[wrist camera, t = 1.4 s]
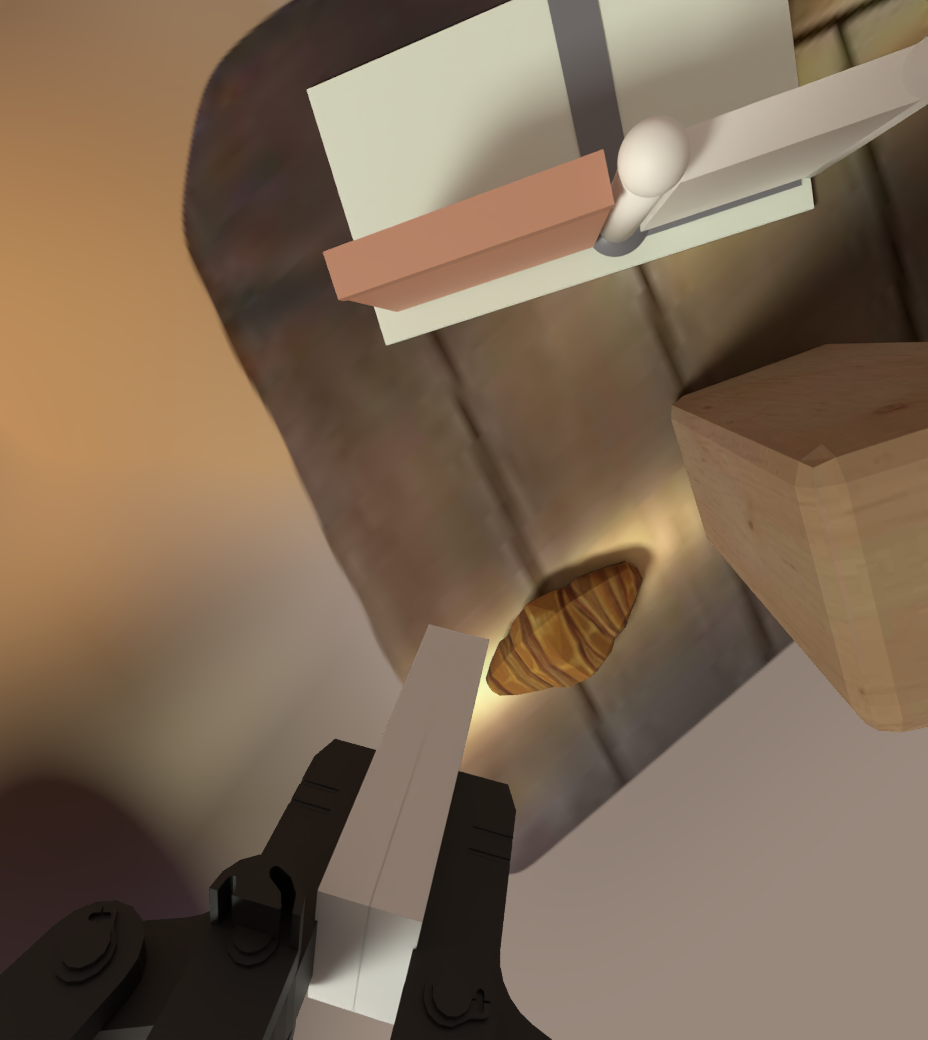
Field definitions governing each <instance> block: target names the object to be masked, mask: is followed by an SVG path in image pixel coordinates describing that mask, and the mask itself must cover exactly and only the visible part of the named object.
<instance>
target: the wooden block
mask: <svg viewBox="0 0 928 1040" xmlns="http://www.w3.org/2000/svg"><path fill="white" fill-rule="evenodd" d="M671 421H672V424H673V427H674V431H675V434H676V437H677V441H678V444H679V447H680V450H681V454H682V457H683V460H684V464H685V467H686V470H687V474H688V477H689V480H690V484H691V487H692V490H693V493H694V497H695V500H696V503H697V507H698V510H699V513H700V517H701V520H702V523H703V526H704V530H705V533H706V536H707V538H708V540H709V541H710V542H711V543H712V544H713V546H714V547H715V548H716V549H717V550H718V551H719V553H720V554H721V555H722V556H723V557H724V558H725V560H726V561H727V562H728V563H729V564H730V565H731V567H732V568H733V569H734V570H735V571H736V573H737V574H738V575H739V576H740V577H741V578H742V580H743V581H744V582H745V583H746V584H747V585H748V587H749V588H750V589H751V590H752V591H753V593H754V594H755V595H756V596H757V597H758V598H759V600H760V601H761V602H762V603H763V604H764V605H765V607H766V608H767V609H768V610H769V611H770V613H771V614H772V615H773V616H774V617H775V618H776V620H777V621H778V622H779V623H780V624H781V625H782V627H783V628H784V629H785V630H786V631H787V632H788V634H789V635H790V636H791V637H792V638H793V640H794V641H795V642H796V643H797V644H798V645H799V647H800V648H801V649H802V650H803V651H804V652H805V654H806V655H807V656H808V657H809V658H810V659H811V660H812V662H813V663H814V664H815V665H816V667H817V668H818V669H819V670H820V671H821V672H822V674H823V675H824V676H825V677H826V678H827V679H828V681H829V682H830V683H831V684H832V685H833V687H834V688H835V689H836V690H837V691H838V692H839V693H840V695H841V696H842V697H843V698H844V699H845V701H846V702H847V703H848V704H849V705H850V707H851V708H852V709H853V710H854V711H855V712H856V713H857V714H858V715H859V717H860V718H861V719H862V720H863V721H864V722H865V723H866V724H868V725H869V726H871V727H873V728H875V729H877V730H879V731H892V732H905V731H910V730H915V729H920V728H924V727H928V342H899V343H848V344H825V345H822V346H820V347H817V348H814V349H811V350H809V351H806V352H803V353H800V354H798V355H795V356H792V357H789V358H786V359H784V360H781V361H778V362H775V363H773V364H770V365H767V366H764V367H762V368H759V369H756V370H753V371H751V372H748V373H745V374H742V375H740V376H737V377H734V378H731V379H729V380H726V381H723V382H720V383H718V384H715V385H712V386H709V387H707V388H704V389H701V390H698V391H696V392H693V393H690V394H687V395H685V396H682V397H681V398H680V399H679V400H678V401H676V402H675V403H674V404H673V405H672V411H671Z"/></svg>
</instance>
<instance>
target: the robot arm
mask: <svg viewBox="0 0 928 1040" xmlns="http://www.w3.org/2000/svg"><path fill="white" fill-rule="evenodd" d="M488 643H489V639H485V638H481V637H477V636H473V635H469V634H465V633H461V632H457V631H453V630H449V629H445V628H441V627H437V626H433V625H429V626H428V628H427V630H426V633H425V635H424V638H423V640H422V642H421V645H420V647H419V650H418V652H417V654H416V657H415V659H414V661H413V664H412V666H411V669H410V671H409V673H408V676H407V678H406V681H405V683H404V685H403V688H402V690H401V693H400V695H399V697H398V700H397V702H396V705H395V707H394V709H393V712H392V714H391V717H390V719H389V721H388V724H387V726H386V729H385V731H384V733H383V736H382V738H381V741H380V743H379V745H378V748H377V750H374V749H370V748H366V747H363V746H359V745H356V744H352V743H349V742H345V741H341V740H338V739H334V740H333V741H332V742H331V743H330V744H329V745H327V746H326V747H325V748H324V749H323V750H321V751H320V752H319V753H318V754H316V755H315V756H314V758H313V760H312V762H311V764H310V765H309V767H308V769H307V771H306V773H305V775H304V777H303V779H302V782H301V784H299V786H298V788H297V790H296V792H295V793H294V795H293V797H292V800H291V802H290V803H289V804H288V806H287V808H286V810H285V812H284V813H283V816H282V817H281V819H280V821H279V823H278V825H277V827H276V828H275V830H274V832H273V834H272V836H271V838H270V840H269V841H268V843H267V845H266V847H265V849H264V850H263V852H262V854H261V855H257V856H253V857H250V858H246V859H242V860H240V861H238V862H237V863H235V864H233V865H232V866H230V867H229V868H227V869H226V870H224V871H223V872H222V873H221V874H220V875H219V877H218V878H217V879H216V880H215V881H214V883H213V884H212V885H211V886H210V888H209V900H210V911H209V912H207V913H204V914H202V915H197V916H192V917H186V918H174V919H161V920H147V921H142V918H141V917H140V915H139V914H138V913H137V912H136V910H135V909H134V908H133V907H132V906H130V905H127V904H125V903H122V902H119V901H117V900H116V901H102V902H95V903H92V904H90V905H87V906H85V907H82V908H79V909H77V910H75V911H73V912H72V913H71V914H69V915H68V916H66V917H65V918H63V919H62V920H61V921H59V922H58V923H57V924H55V925H54V926H53V927H52V928H51V929H50V930H48V931H47V932H46V933H45V934H44V935H43V936H42V937H41V938H40V939H39V940H38V941H36V942H35V943H34V944H33V945H32V946H31V947H30V948H29V949H28V950H27V951H26V952H25V953H23V954H22V955H21V956H20V957H19V958H18V959H17V960H16V961H15V962H14V963H13V964H12V965H11V966H9V967H8V968H7V969H6V970H5V971H4V972H3V973H2V974H1V975H0V1040H293V1035H294V1030H295V1024H296V1018H297V1016H298V1013H299V1010H300V1008H301V1005H302V1002H303V1000H304V997H305V994H306V992H307V989H308V986H309V990H308V997H309V998H312V999H316V1000H318V1001H321V1002H325V1003H328V1004H331V1005H334V1006H337V1007H340V1008H344V1009H346V1010H349V1011H353V1012H356V1013H359V1014H362V1015H365V1016H368V1017H371V1018H374V1019H377V1020H381V1021H384V1022H387V1023H390V1024H393V1025H394V1027H393V1031H392V1035H391V1039H390V1040H552V1039H550V1038H549V1037H548V1036H546V1035H545V1034H544V1033H542V1032H541V1031H540V1030H539V1029H537V1028H536V1027H535V1026H534V1025H532V1024H531V1023H530V1022H529V1021H528V1020H527V1019H526V1018H525V1017H524V1016H523V1015H522V1014H521V1013H520V1012H519V1010H518V1009H517V1007H516V1006H515V1004H514V1003H513V1001H512V1000H511V999H510V996H509V994H508V992H507V989H506V987H505V984H504V982H503V977H502V972H501V968H500V947H501V938H502V929H503V921H504V912H505V903H506V893H507V885H508V876H509V868H510V865H509V864H510V859H511V850H512V839H513V832H514V823H515V815H516V809H515V806H514V802H513V799H512V796H511V793H510V789H509V786H508V785H507V784H504V783H500V782H496V781H493V780H489V779H486V778H482V777H478V776H475V775H471V774H467V773H464V772H460V771H459V769H460V765H461V760H462V756H463V752H464V748H465V743H466V739H467V735H468V731H469V726H470V722H471V718H472V713H473V709H474V705H475V700H476V696H477V692H478V687H479V683H480V678H481V674H482V670H483V665H484V661H485V657H486V652H487V648H488Z"/></svg>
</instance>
